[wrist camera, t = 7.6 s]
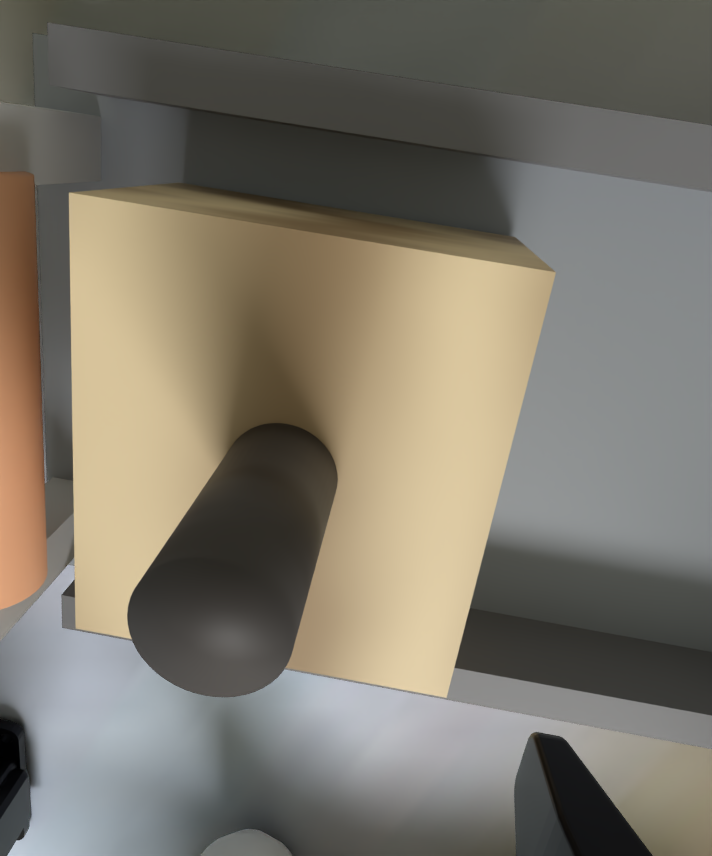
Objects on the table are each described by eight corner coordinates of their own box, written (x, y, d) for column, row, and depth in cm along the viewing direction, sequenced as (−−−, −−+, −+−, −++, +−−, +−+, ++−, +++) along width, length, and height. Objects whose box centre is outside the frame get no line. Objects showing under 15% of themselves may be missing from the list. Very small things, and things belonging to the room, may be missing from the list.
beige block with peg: (165, 508, 22) (-66, 815, 12) (179, 182, 18) (-145, 211, 8) (441, 558, 21) (455, 920, 11) (515, 237, 18) (636, 341, 7)
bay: (50, 543, 24) (-116, 712, 17) (34, 36, 18) (-238, -50, 11) (796, 679, 23) (969, 922, 16) (1042, 193, 17) (1511, 219, 10)
